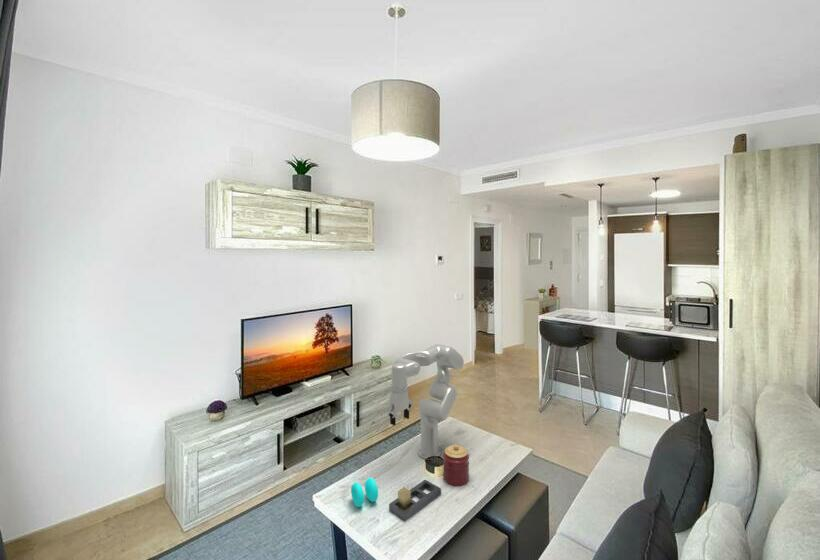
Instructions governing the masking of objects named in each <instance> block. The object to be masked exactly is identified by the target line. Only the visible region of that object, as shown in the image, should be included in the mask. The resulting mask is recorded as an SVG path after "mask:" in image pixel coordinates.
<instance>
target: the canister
mask: <svg viewBox="0 0 820 560" xmlns="http://www.w3.org/2000/svg"><path fill="white" fill-rule="evenodd" d="M442 457H443V461H442V462H443V463H442V464H443V472H442V476H443V480H444V481H445V482H446V483H447V484H448V485H451V486H455V487H458V486H460V487H461V486H464V485H466V484H467V483H468V482H469V479H470V471H469V470H470V468H469V467H470V466H469V465H470V461H469V459H470V455H469V453H468V450H467V449H466V448H465V447H463V446H462V445H459V444H452V445H449V446H447V447H445V449H444V453H443V455H442Z"/></svg>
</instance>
